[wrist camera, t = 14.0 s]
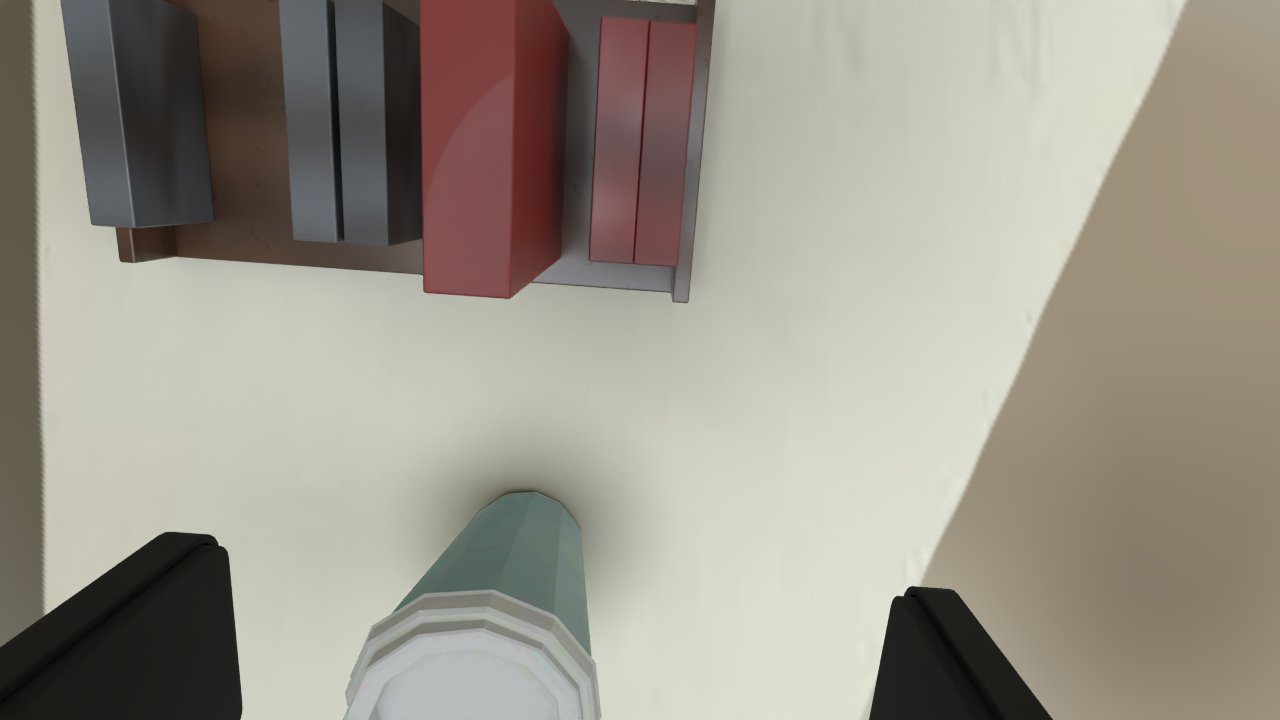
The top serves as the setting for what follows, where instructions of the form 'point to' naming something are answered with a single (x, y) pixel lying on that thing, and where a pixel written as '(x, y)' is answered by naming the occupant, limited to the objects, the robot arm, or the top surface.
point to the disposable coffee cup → (488, 627)
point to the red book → (491, 143)
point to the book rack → (370, 133)
